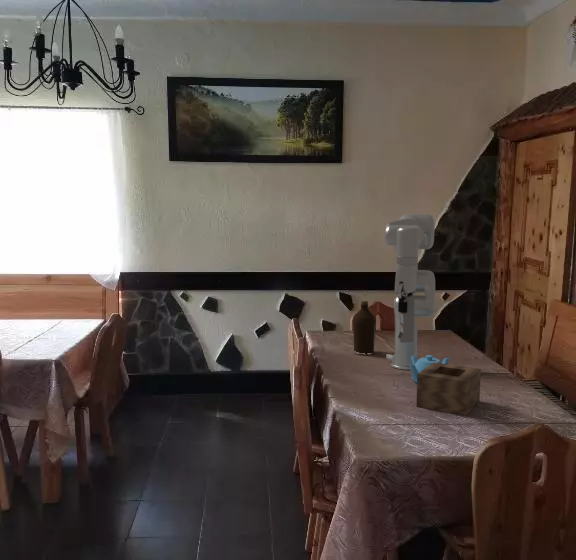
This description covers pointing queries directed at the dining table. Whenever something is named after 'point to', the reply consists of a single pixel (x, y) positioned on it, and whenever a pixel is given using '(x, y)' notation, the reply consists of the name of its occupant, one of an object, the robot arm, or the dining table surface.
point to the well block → (448, 388)
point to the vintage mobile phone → (407, 322)
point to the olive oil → (364, 330)
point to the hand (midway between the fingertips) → (406, 310)
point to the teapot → (423, 364)
